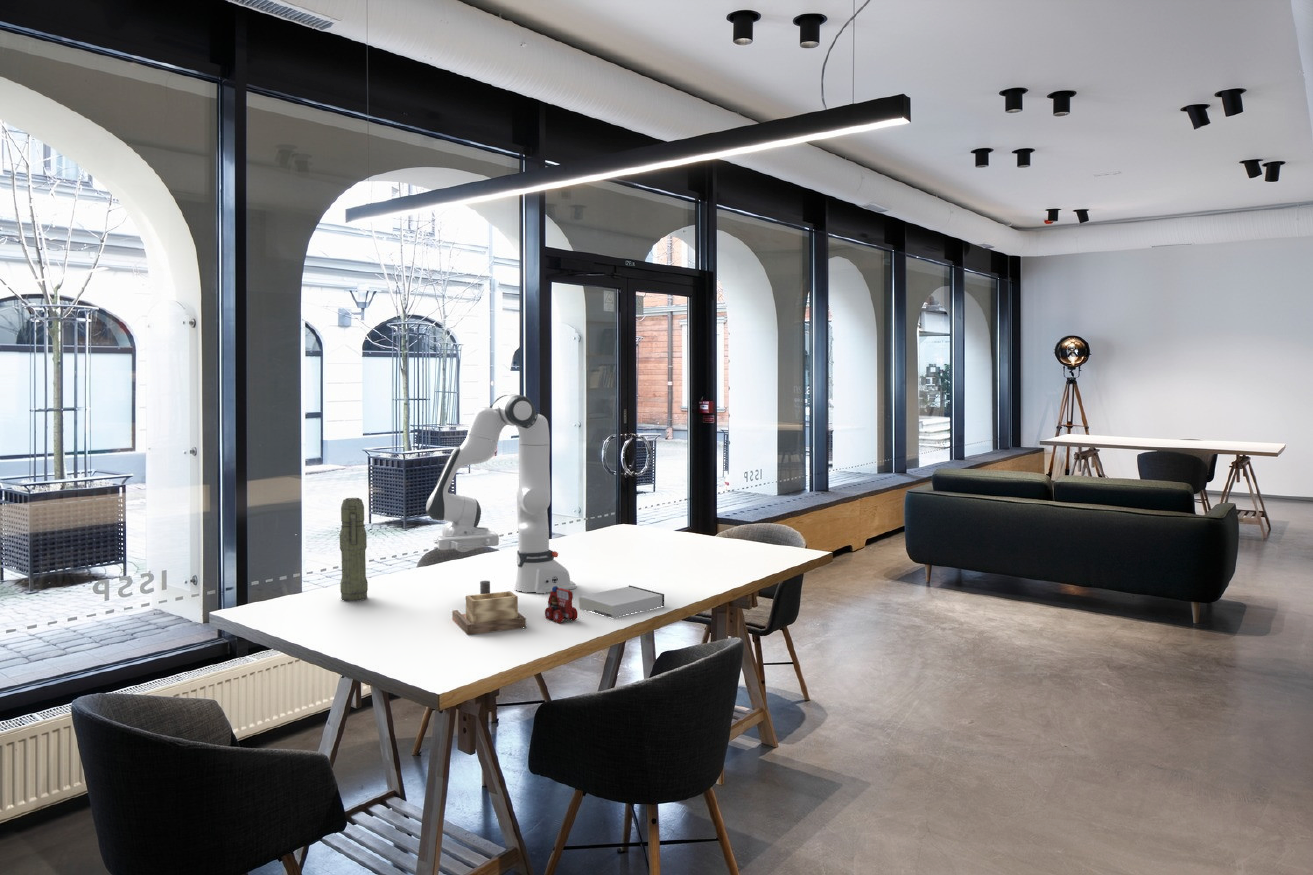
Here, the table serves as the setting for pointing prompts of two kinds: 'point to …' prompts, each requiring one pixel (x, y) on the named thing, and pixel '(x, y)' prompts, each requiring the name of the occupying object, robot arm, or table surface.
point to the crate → (491, 605)
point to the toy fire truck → (560, 605)
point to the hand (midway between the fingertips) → (473, 544)
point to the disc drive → (621, 601)
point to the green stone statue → (353, 551)
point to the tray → (487, 624)
